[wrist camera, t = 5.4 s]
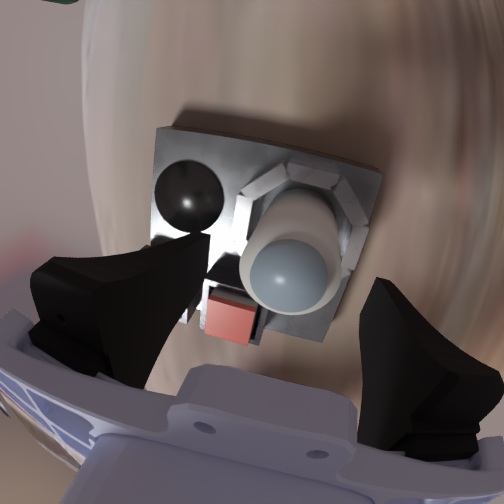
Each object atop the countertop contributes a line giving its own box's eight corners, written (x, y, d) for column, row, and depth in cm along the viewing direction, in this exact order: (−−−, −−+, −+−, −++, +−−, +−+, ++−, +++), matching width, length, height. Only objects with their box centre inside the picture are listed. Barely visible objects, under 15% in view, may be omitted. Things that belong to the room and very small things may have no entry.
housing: (323, 325, 23) (320, 361, 20) (158, 280, 25) (135, 306, 21) (377, 168, 17) (391, 182, 14) (166, 125, 19) (134, 130, 15)
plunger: (255, 322, 21) (247, 345, 19) (216, 311, 22) (204, 333, 19) (262, 289, 20) (255, 312, 18) (220, 278, 20) (207, 299, 18)
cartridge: (325, 263, 19) (323, 332, 13) (258, 246, 19) (229, 308, 13) (345, 199, 16) (357, 247, 11) (271, 180, 17) (244, 218, 11)
